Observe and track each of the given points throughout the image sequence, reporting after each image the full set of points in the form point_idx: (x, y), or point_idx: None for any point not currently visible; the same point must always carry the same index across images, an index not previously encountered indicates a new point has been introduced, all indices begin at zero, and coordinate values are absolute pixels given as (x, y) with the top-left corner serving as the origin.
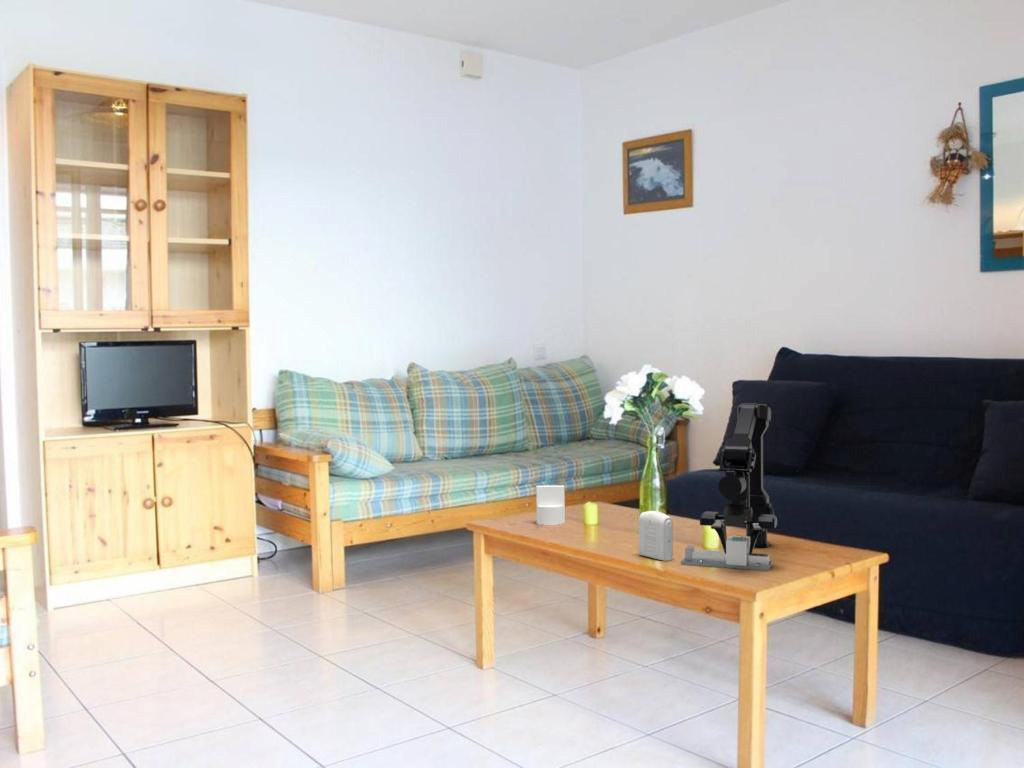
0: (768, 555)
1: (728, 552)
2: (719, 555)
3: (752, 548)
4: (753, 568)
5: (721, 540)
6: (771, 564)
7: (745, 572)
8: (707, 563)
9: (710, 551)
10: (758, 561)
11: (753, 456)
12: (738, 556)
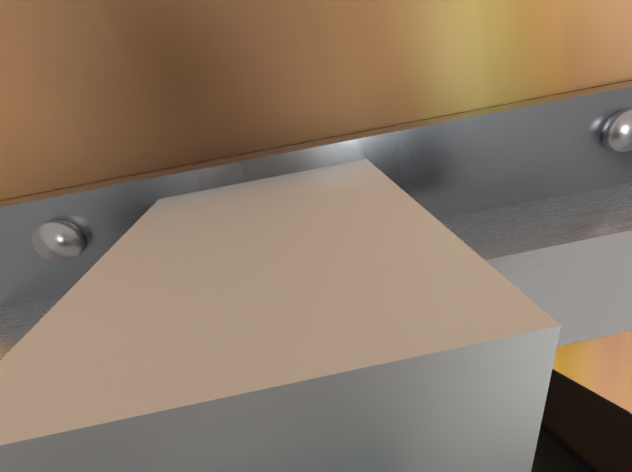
0: None
1: (377, 204)
2: (483, 244)
3: None
4: (80, 188)
5: (624, 420)
6: None
7: (90, 25)
8: (554, 101)
9: (600, 295)
10: None
11: None
12: (228, 220)
